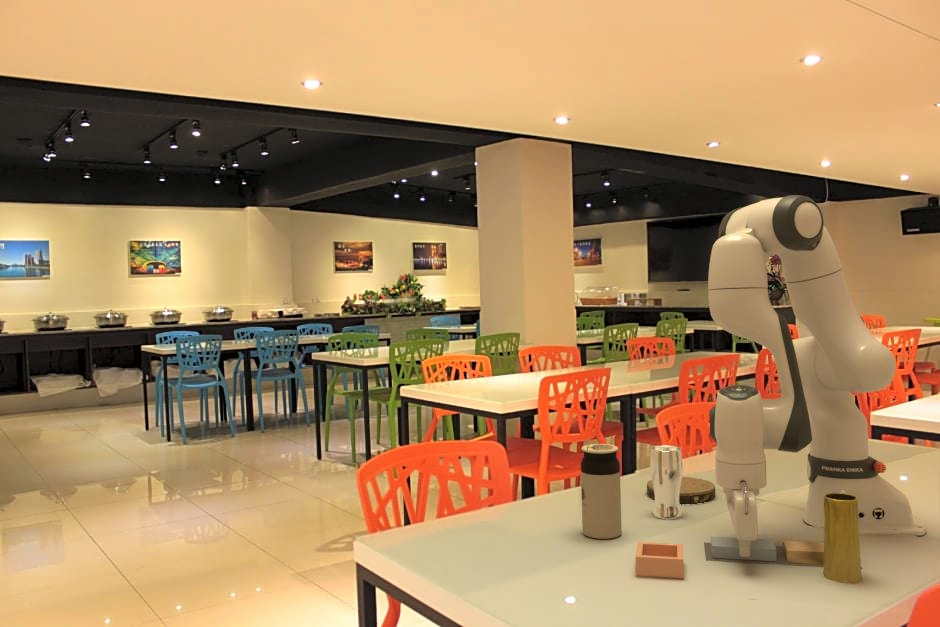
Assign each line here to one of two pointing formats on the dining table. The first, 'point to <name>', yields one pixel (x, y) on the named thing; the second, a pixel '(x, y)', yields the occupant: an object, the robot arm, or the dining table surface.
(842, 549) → the vase
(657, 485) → the beer glass
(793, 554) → the oak board
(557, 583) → the dining table surface
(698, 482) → the wood slice coaster
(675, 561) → the orange frame
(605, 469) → the travel mug
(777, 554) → the mat
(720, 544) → the slate board
